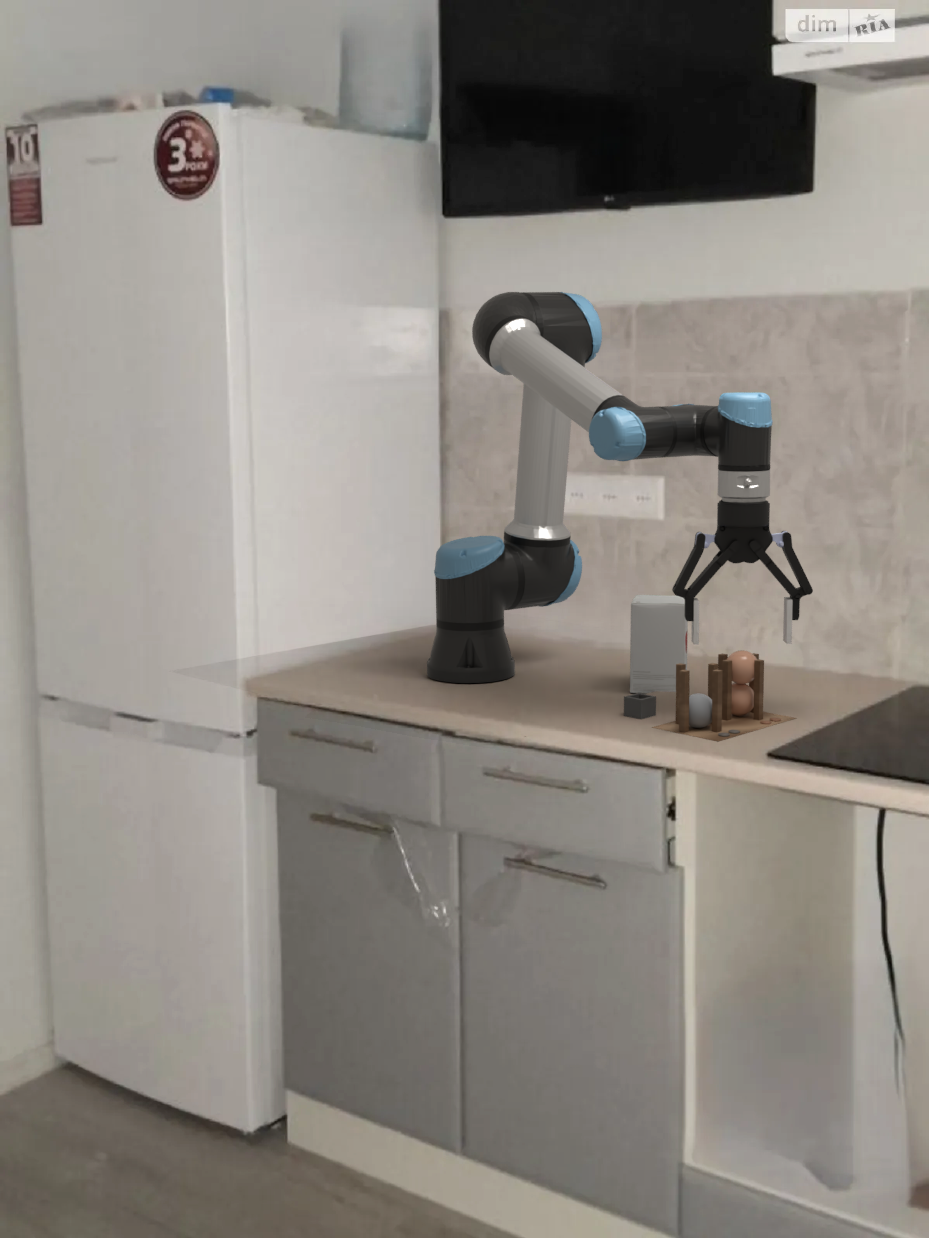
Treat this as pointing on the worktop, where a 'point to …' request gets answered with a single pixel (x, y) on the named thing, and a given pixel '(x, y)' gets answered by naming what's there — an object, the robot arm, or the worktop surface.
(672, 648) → the supplement box
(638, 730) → the worktop surface
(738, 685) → the ball
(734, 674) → the ball loose
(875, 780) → the worktop surface
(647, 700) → the stand
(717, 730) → the rack
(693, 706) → the ball
